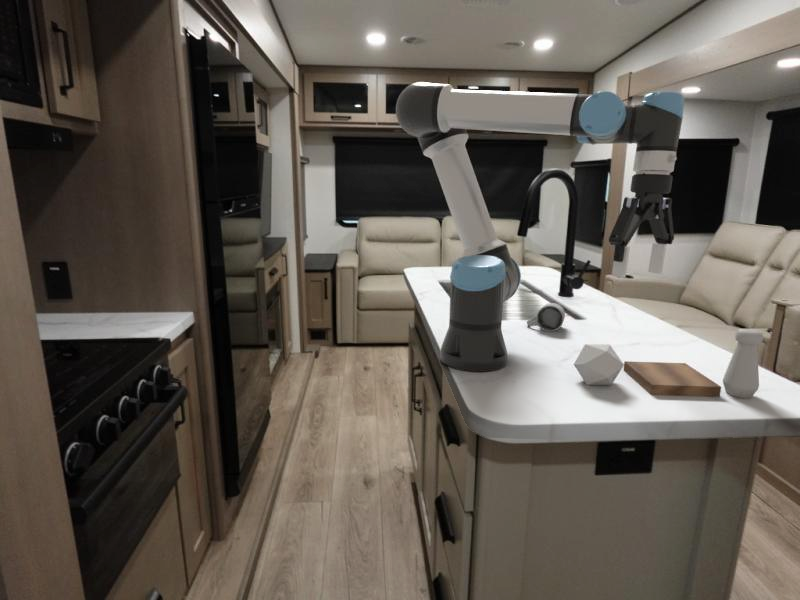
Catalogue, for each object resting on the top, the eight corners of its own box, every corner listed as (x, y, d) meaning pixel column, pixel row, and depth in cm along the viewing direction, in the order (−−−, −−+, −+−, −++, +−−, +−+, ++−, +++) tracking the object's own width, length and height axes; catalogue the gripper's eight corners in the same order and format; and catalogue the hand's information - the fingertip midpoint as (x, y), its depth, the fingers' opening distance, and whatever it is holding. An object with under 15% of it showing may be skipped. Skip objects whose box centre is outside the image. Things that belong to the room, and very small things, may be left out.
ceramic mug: (564, 326, 140) (566, 301, 139) (562, 333, 133) (564, 307, 132) (528, 322, 144) (530, 298, 143) (524, 329, 137) (526, 303, 136)
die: (614, 397, 94) (638, 355, 95) (576, 373, 94) (599, 331, 95) (596, 395, 102) (618, 356, 103) (561, 373, 102) (583, 334, 103)
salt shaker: (754, 403, 90) (767, 336, 88) (718, 394, 94) (730, 330, 91) (758, 393, 95) (770, 330, 92) (723, 385, 98) (734, 324, 95)
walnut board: (650, 394, 94) (652, 384, 93) (623, 370, 106) (624, 361, 106) (719, 396, 93) (721, 386, 93) (683, 371, 106) (685, 363, 105)
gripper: (634, 170, 90) (618, 282, 95) (702, 176, 103) (685, 273, 108) (599, 170, 96) (585, 275, 101) (667, 175, 110) (653, 268, 114)
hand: (637, 275), depth 105 cm, fingers open, 13 cm apart
